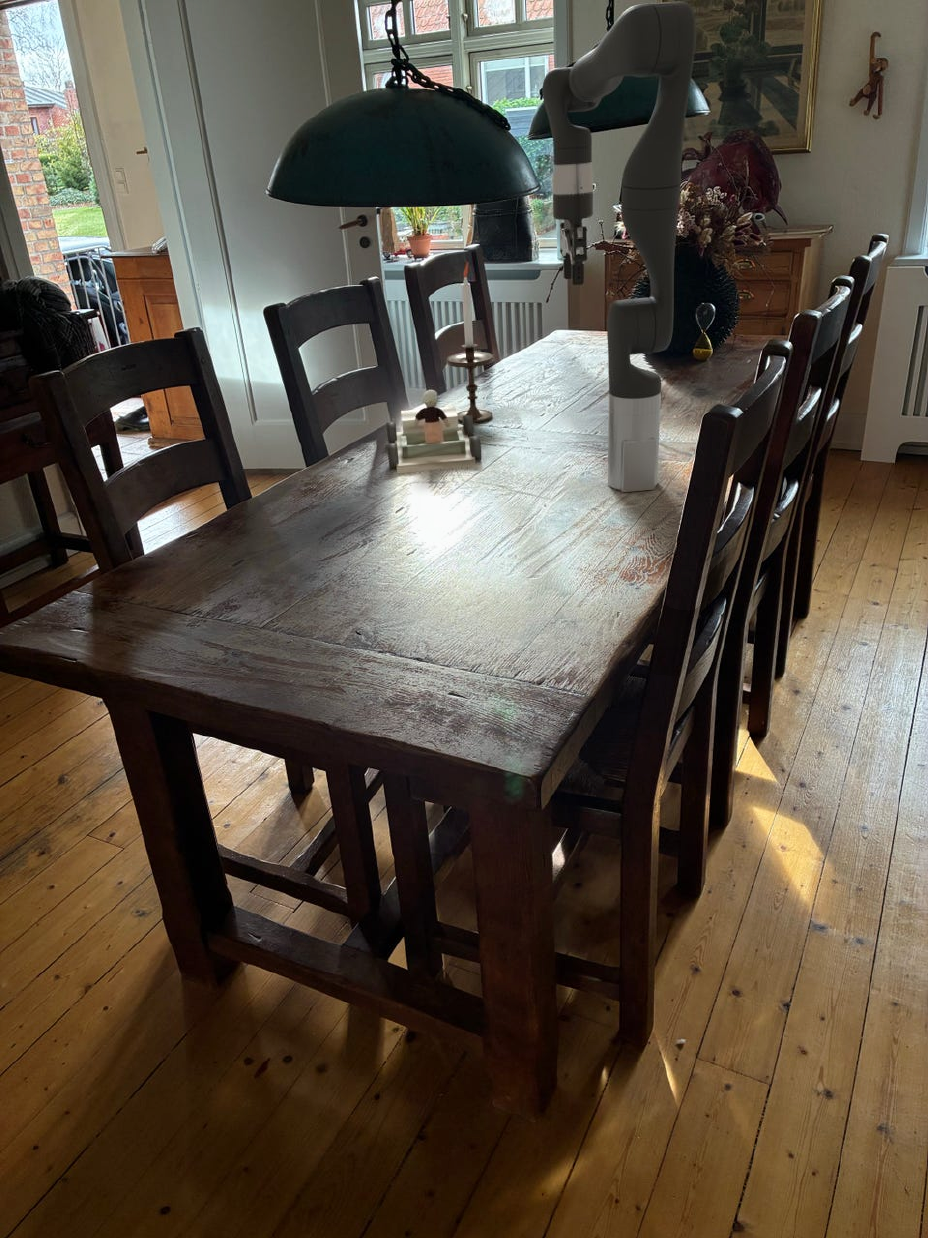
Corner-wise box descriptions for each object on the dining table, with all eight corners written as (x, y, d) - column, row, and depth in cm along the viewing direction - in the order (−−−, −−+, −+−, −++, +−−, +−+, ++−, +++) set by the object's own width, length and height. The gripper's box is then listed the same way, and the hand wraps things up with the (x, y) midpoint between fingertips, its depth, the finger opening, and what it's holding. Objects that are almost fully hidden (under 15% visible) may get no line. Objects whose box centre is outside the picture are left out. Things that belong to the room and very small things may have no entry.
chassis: (482, 465, 187) (481, 434, 184) (389, 473, 186) (386, 442, 183) (471, 432, 208) (470, 403, 205) (388, 439, 207) (385, 411, 204)
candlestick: (497, 411, 222) (490, 257, 206) (494, 424, 213) (487, 264, 196) (453, 413, 224) (442, 260, 207) (448, 425, 214) (437, 266, 198)
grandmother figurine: (452, 446, 195) (448, 386, 189) (451, 451, 192) (447, 391, 186) (416, 448, 196) (411, 388, 190) (415, 453, 192) (409, 393, 186)
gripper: (600, 190, 166) (600, 285, 174) (584, 187, 179) (584, 275, 186) (559, 194, 166) (560, 288, 173) (546, 190, 178) (548, 278, 186)
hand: (573, 281), depth 180 cm, fingers open, 8 cm apart
